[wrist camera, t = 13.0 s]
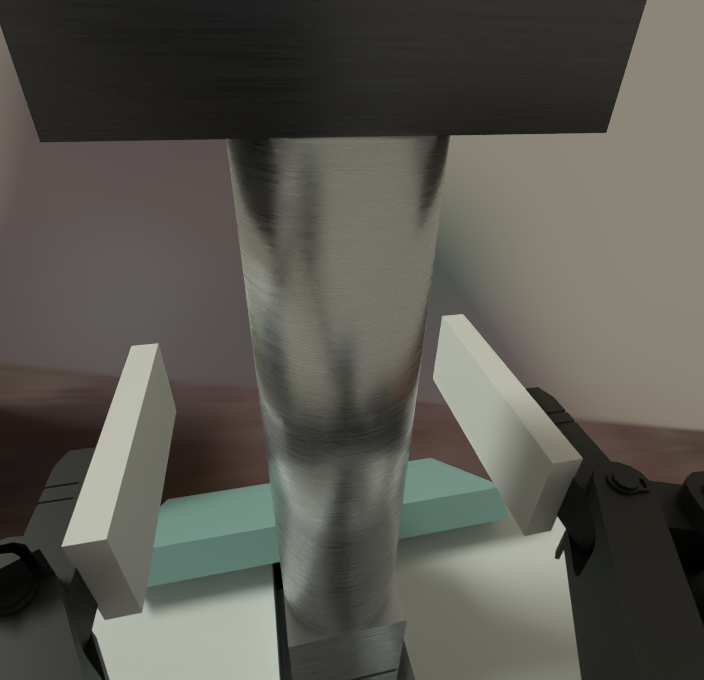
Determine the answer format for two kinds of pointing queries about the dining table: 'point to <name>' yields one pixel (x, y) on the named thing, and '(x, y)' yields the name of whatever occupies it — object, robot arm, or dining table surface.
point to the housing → (417, 599)
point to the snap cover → (260, 531)
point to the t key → (328, 221)
